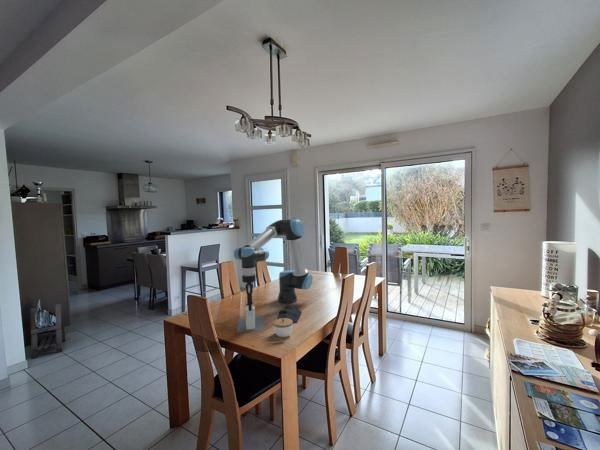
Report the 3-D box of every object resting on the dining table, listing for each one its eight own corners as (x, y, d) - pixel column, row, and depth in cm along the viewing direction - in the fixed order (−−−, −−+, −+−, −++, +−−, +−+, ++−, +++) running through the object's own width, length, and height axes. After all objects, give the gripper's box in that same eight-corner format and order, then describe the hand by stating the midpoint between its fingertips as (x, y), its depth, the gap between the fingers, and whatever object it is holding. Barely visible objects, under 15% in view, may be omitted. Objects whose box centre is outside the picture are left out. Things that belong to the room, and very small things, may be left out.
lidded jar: (273, 332, 153) (273, 315, 153) (292, 330, 154) (292, 314, 154) (273, 340, 142) (273, 323, 142) (293, 339, 143) (293, 322, 143)
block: (255, 325, 161) (254, 305, 161) (255, 329, 156) (254, 309, 155) (246, 326, 161) (246, 306, 160) (246, 330, 155) (245, 309, 154)
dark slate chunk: (273, 323, 166) (272, 316, 166) (281, 311, 188) (280, 304, 188) (297, 324, 164) (297, 316, 164) (302, 311, 186) (302, 304, 186)
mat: (263, 317, 176) (263, 316, 176) (264, 331, 154) (264, 330, 154) (238, 319, 174) (238, 318, 174) (236, 333, 152) (236, 332, 152)
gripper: (242, 272, 158) (244, 312, 159) (241, 277, 145) (243, 320, 146) (255, 271, 159) (257, 311, 160) (255, 276, 146) (257, 319, 147)
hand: (250, 315), depth 153 cm, fingers closed
